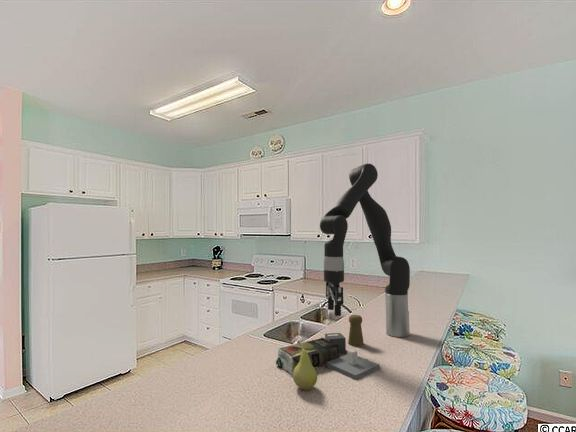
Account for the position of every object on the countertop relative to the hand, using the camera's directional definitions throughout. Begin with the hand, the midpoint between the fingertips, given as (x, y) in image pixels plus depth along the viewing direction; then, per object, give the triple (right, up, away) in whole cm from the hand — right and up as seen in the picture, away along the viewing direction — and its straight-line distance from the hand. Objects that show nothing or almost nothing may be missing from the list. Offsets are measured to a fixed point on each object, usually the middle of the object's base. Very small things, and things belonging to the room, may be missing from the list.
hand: (334, 312), depth 114 cm
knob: (0, -14, -1) cm, 14 cm away
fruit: (-13, -12, -28) cm, 33 cm away
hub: (+4, -13, -15) cm, 20 cm away
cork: (+10, -15, +7) cm, 19 cm away
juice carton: (-11, -14, -11) cm, 21 cm away
